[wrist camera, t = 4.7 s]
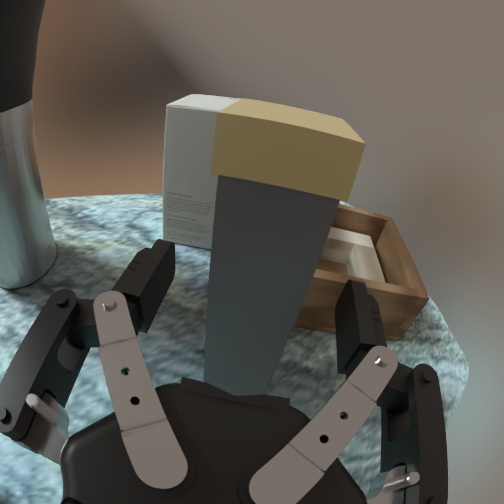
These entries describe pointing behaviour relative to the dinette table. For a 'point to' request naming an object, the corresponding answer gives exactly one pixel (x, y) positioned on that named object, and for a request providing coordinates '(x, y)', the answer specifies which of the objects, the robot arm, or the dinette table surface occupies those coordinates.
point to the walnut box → (364, 273)
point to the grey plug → (269, 230)
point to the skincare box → (190, 169)
